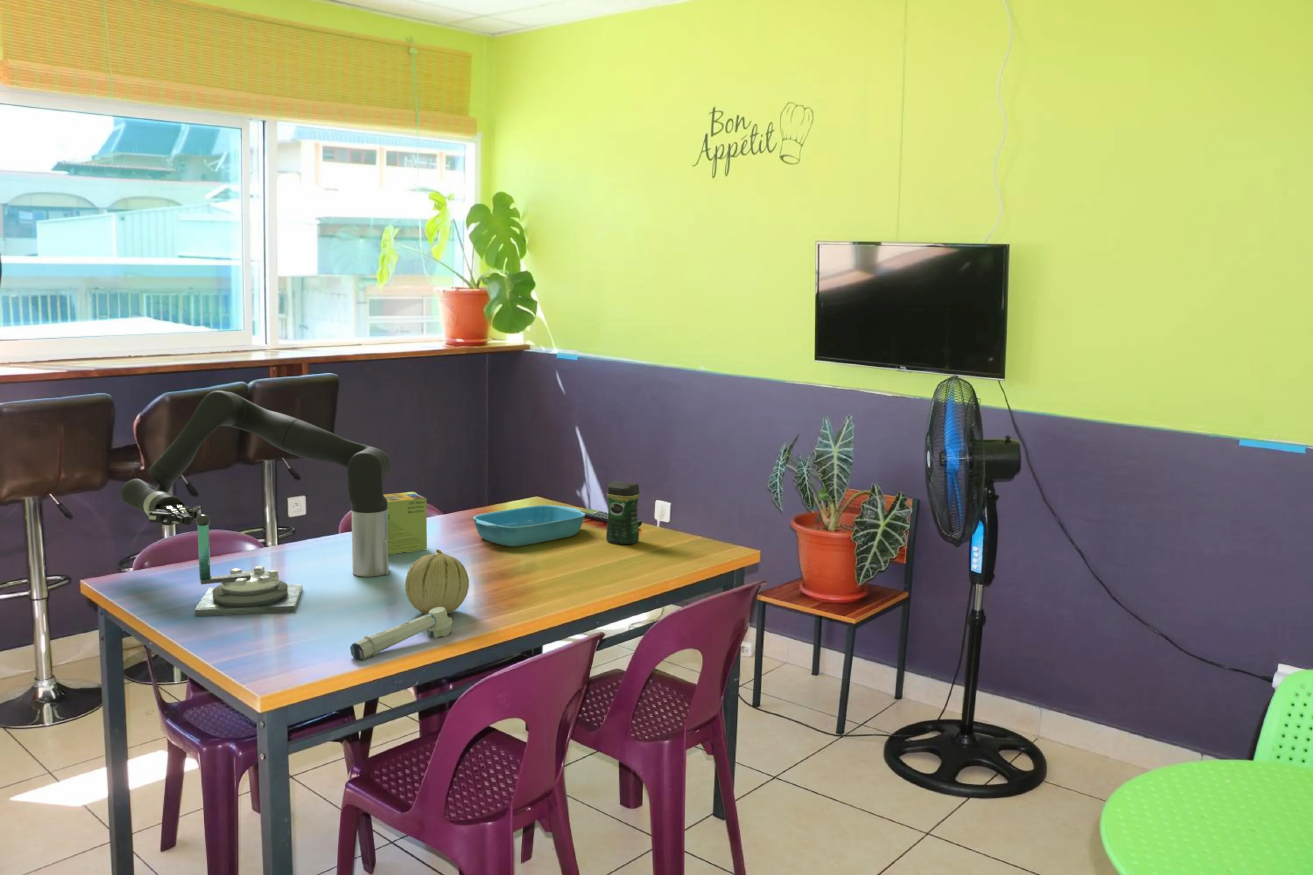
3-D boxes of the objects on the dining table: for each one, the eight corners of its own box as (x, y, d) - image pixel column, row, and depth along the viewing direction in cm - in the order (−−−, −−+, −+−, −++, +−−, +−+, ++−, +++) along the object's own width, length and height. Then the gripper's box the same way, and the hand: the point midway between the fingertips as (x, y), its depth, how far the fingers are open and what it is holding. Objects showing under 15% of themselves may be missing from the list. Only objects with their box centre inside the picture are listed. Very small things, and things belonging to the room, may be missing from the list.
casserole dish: (552, 521, 354) (552, 500, 353) (598, 534, 339) (599, 512, 338) (458, 539, 328) (458, 516, 327) (504, 554, 313) (504, 530, 312)
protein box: (427, 550, 314) (427, 497, 312) (376, 556, 306) (375, 503, 303) (414, 542, 323) (413, 491, 321) (363, 548, 314) (362, 496, 312)
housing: (302, 589, 273) (302, 576, 272) (294, 611, 256) (294, 597, 255) (209, 593, 268) (208, 579, 268) (194, 616, 251) (194, 601, 250)
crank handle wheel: (274, 578, 270) (272, 503, 267) (282, 592, 259) (280, 514, 256) (196, 586, 262) (193, 509, 259) (201, 601, 250) (198, 520, 248)
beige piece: (346, 640, 227) (439, 598, 245) (351, 669, 228) (443, 625, 247) (362, 645, 223) (455, 603, 242) (366, 675, 225) (458, 630, 244)
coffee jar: (642, 541, 330) (644, 481, 328) (629, 546, 324) (630, 485, 321) (615, 536, 335) (616, 477, 332) (601, 541, 328) (602, 481, 326)
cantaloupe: (412, 626, 247) (411, 563, 245) (400, 608, 260) (399, 547, 258) (475, 619, 253) (475, 557, 251) (461, 601, 266) (460, 542, 264)
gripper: (135, 496, 270) (158, 509, 257) (190, 490, 279) (215, 502, 266) (136, 525, 271) (159, 539, 258) (190, 518, 280) (215, 532, 267)
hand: (187, 520), depth 262 cm, fingers closed
